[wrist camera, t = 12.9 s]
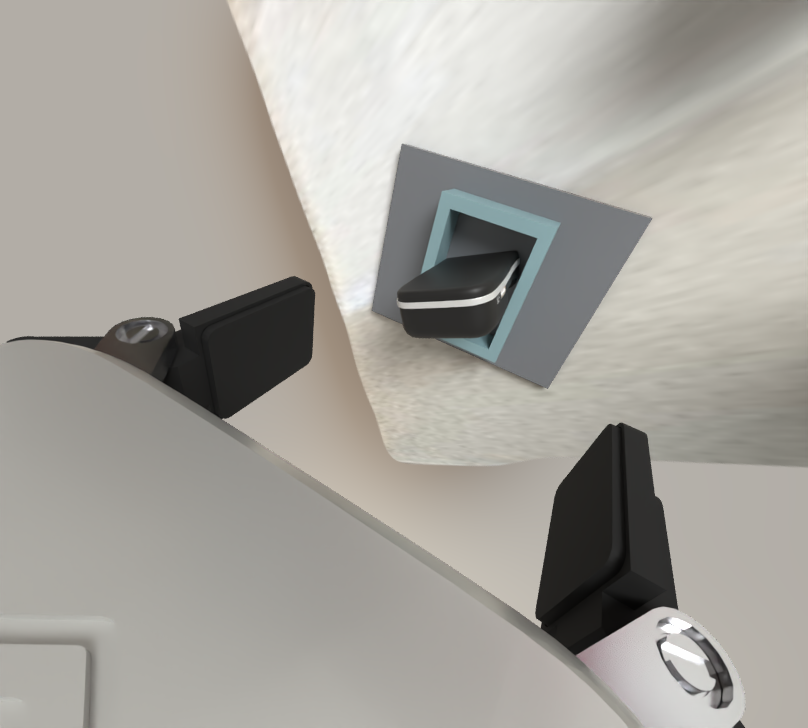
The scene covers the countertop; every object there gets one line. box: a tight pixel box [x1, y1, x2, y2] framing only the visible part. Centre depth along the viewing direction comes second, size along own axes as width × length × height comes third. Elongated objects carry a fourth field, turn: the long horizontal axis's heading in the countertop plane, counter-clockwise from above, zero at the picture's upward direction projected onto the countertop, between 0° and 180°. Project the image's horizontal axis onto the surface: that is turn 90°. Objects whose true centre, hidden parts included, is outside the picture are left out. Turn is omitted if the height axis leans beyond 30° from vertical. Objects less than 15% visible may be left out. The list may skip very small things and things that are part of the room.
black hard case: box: [397, 251, 520, 339], centre depth 27 cm, size 7×4×11 cm, turn 100°
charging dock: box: [372, 144, 652, 389], centre depth 30 cm, size 20×16×4 cm
